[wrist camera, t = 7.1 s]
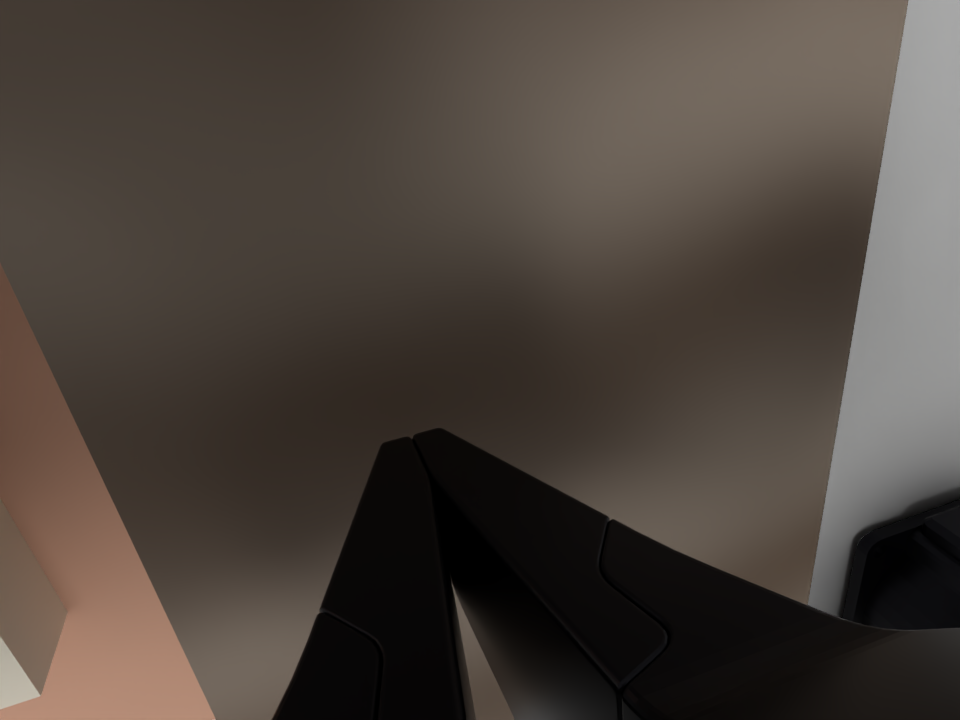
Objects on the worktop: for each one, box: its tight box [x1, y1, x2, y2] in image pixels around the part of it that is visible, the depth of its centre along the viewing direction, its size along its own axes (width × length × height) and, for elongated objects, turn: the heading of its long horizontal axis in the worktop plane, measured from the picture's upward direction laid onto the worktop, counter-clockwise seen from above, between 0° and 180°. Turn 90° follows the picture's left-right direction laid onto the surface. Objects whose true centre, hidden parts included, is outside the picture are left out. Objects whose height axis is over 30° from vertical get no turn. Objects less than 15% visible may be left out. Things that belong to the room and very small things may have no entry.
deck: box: [0, 0, 908, 720], centre depth 12 cm, size 16×12×4 cm
